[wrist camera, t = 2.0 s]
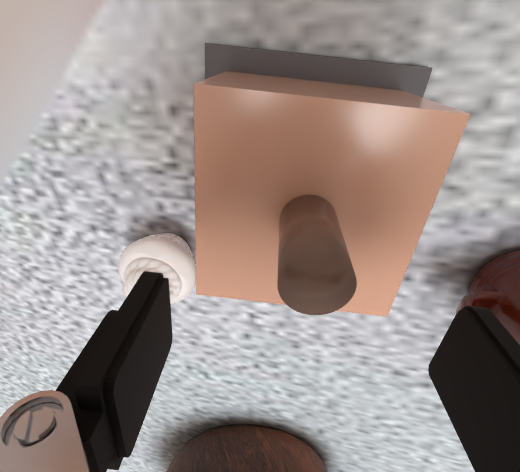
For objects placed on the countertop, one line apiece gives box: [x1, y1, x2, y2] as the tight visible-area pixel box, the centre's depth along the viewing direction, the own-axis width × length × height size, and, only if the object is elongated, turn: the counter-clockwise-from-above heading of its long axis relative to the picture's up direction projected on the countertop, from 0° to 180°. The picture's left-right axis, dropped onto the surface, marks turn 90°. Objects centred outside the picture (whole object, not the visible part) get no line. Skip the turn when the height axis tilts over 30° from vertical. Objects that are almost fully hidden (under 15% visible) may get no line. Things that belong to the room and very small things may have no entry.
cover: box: [194, 71, 470, 317], centre depth 17 cm, size 11×11×14 cm
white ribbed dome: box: [118, 233, 196, 304], centre depth 25 cm, size 6×6×7 cm
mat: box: [205, 43, 432, 97], centre depth 23 cm, size 14×14×1 cm
